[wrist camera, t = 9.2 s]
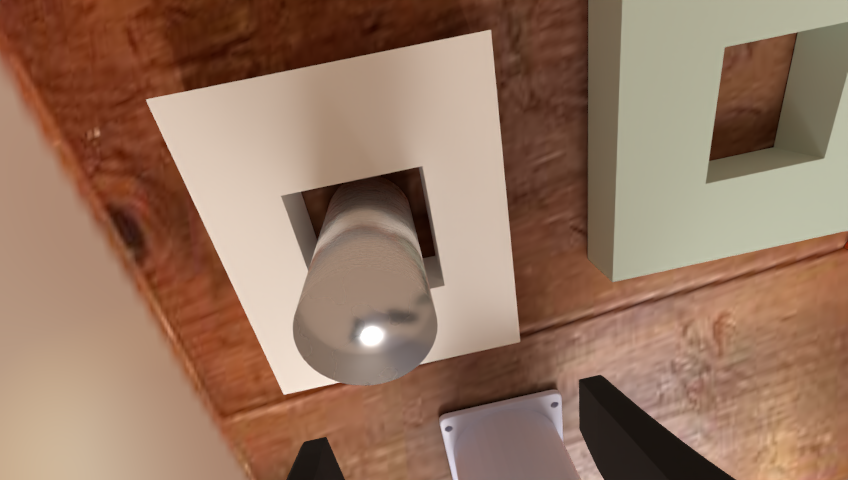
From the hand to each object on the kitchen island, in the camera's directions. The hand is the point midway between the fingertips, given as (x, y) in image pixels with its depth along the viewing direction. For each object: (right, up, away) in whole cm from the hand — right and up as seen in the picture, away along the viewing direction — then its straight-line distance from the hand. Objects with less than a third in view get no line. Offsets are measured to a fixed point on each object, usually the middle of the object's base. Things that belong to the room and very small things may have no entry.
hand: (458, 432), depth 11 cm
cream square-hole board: (-4, +7, +8) cm, 11 cm away
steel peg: (-4, +7, +8) cm, 11 cm away
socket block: (+14, +12, +8) cm, 20 cm away
